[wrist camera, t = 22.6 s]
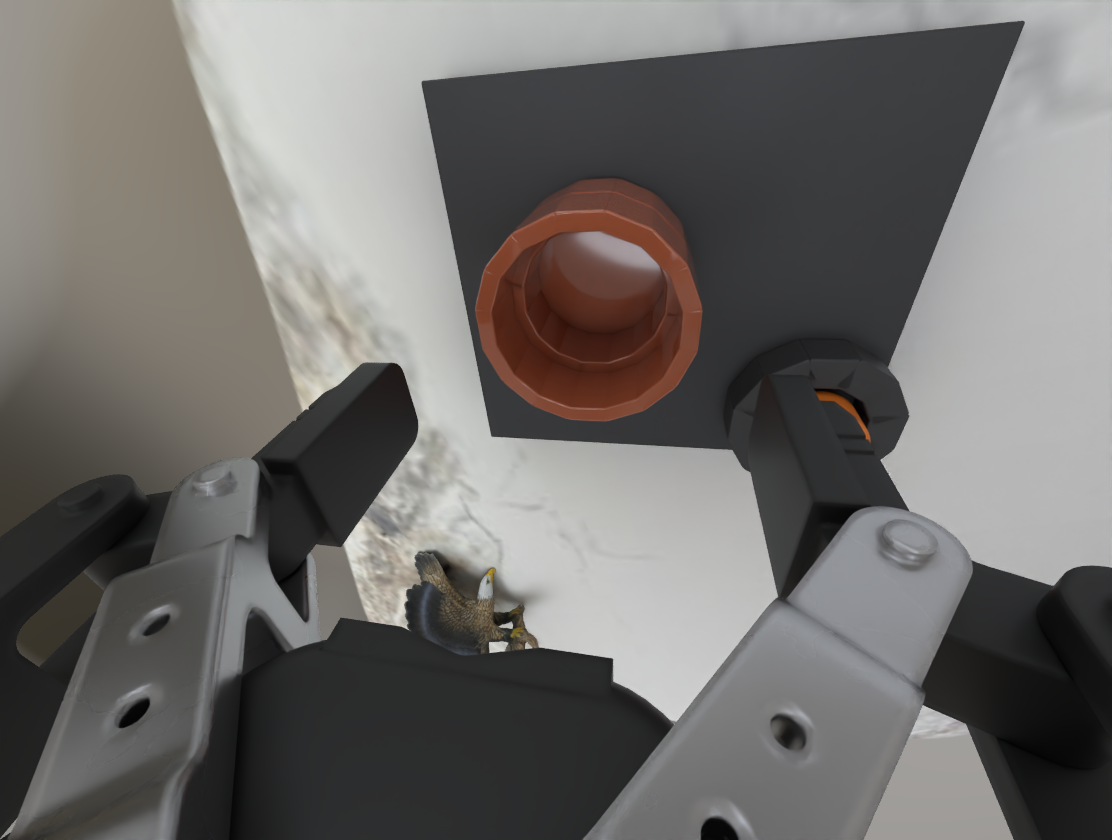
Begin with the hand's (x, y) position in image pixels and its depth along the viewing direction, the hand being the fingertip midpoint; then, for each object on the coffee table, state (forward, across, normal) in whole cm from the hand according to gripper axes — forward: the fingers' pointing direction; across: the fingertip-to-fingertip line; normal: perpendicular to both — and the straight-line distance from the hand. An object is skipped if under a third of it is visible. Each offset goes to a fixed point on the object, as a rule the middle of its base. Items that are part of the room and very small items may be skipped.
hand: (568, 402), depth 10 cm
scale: (+10, -2, +1) cm, 10 cm away
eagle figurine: (+10, +10, +23) cm, 27 cm away
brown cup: (+8, 0, 0) cm, 8 cm away
